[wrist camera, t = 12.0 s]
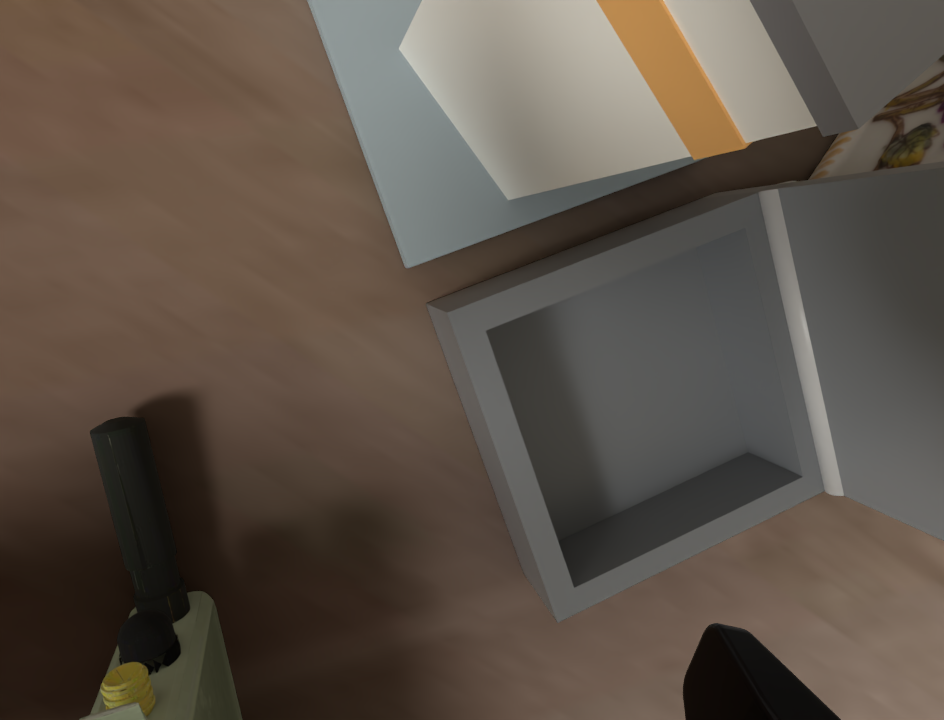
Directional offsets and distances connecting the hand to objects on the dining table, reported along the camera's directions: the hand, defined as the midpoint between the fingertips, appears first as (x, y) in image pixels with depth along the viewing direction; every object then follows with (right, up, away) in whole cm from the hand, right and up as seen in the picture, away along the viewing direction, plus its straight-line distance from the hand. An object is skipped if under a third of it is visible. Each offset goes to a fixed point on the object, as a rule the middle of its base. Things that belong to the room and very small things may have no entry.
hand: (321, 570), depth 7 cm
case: (+6, +1, +14) cm, 15 cm away
